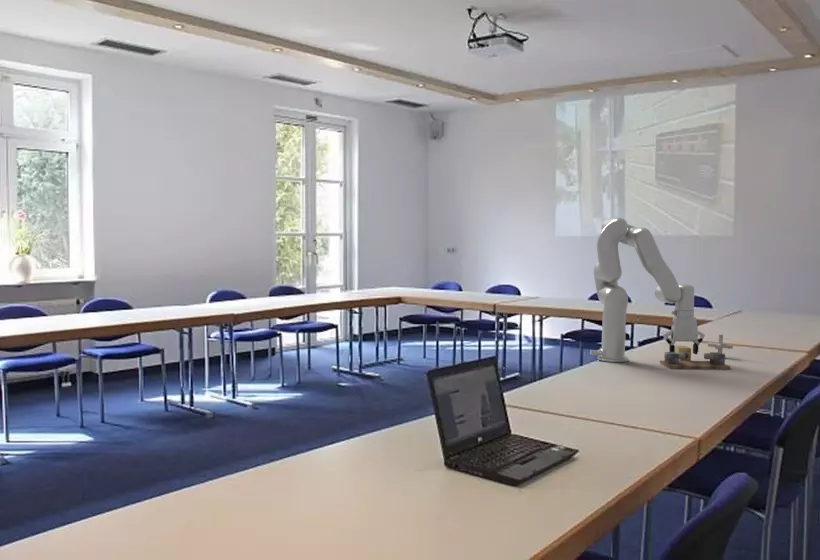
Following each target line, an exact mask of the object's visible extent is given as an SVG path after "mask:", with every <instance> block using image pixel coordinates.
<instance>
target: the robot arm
mask: <svg viewBox="0 0 820 560" xmlns="http://www.w3.org/2000/svg"><path fill="white" fill-rule="evenodd" d="M619 243H621V244H623V245H625V246H629V247H633V248H634V250H635V253H637V256H638V258H639V260H640V262H641V265H642V267H643V268H644V270H645V271H646V272H647V273H648V274H650V275H651V277H653V279H654V280H655V282H656V283H657V285H658V286H657V287H656V288H655V290H654V296H655V298H656V299H657V300H659V301H660V302H663V303H668V304H674V310H673V311H671V315H674V316H673V317H672V322H671V329H670V331H668V332H666V333H664V334H663V338H664V339H665V340H664V341H666V342H667V344H668V345H669V350H668V352H675V346H676V345H675V344H676V342H692V343H693V345H692V354H694V355H698V353H699V345H701V343H702V342H703V340H704V338H705V337H706V334H705V333H703V332H701V331H699V330H698V329H699V328H698V323H697V318H696V316H695V287H694V286H693V285H692V284H679V283H678V281H677V279H676V276H675V274H673V272H672V269H670V267H669V266H668V265H667V263H666V262H665V260H664V259H663V255H662V254H661V252H660V250H659V247H658V245H657V243H656V240H655V239H654V237H653V234H652V232H651V231H650V229H648V228H645V227H637V226H633V225H630V224H629V223H628V222H627V220H626V219H624V218H623V217H609V218H606V219H605V220H604V221H603V222H602V223H601V231H600V233H599V235H598V239H597V242H596V250H597V259H598V262H596V264H595V265H594V269H593V277H594V282H595V290H596V296H597V298H598V300H599V302H600V303H601V304H602V305H603V310H602V319H601V320H602V325H601V327H602V329H601V331H602V332H601V347H600V348H599V349H597V350H595V349H592V350H591V349H590V351H589V354H590V355H591V356H592V355H593V356H597V360H599V361H603V362H611V363H624V362H625V363H626V362H628V361H629V357H628V356H625V353H626V351H625V350H626V328H627V327H626V326H627V325H626V321H627V310H628V304H629V296H628V292H627V291H626V289H625V288H624V287H622V286H620V285H619V283H618V281H619V280H620V279H621V277H622V273H623V272H622V266H621V261H620V260H621V259H620V255H619V254H620V253H619ZM669 336H670V337H669ZM670 338H671V339H670Z"/></svg>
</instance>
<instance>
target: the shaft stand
mask: <svg viewBox="0 0 820 560" xmlns="http://www.w3.org/2000/svg"><path fill="white" fill-rule="evenodd" d="M663 356H664V357H663V358H664V360H659V364H661V365H662V366H664V367H666V368H668V369H670V370H731V366H730V365H728V364H726V354H725V353H723V352H722V353H720V352H718V351H716V352H715V351H714V352H711V351H710V352H709V353H708V352H707V353H706V352H705V353H704V354H703V358H704V360H691V361H679V359H685V353H676V352H669V351H664V355H663Z"/></svg>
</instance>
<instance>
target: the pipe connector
mask: <svg viewBox="0 0 820 560" xmlns="http://www.w3.org/2000/svg"><path fill="white" fill-rule="evenodd" d="M717 336H718V337H717V338H718V340H717V342H710V341H709V342H708V343H707V346H708V347H710V348H715V350H717V352H720V353H723V349H728V350H729V349H731V350H733V348H734V345H733V344H731V343H730V344H728V343H725V342H724V334H721V333H719V334H718V335H717Z"/></svg>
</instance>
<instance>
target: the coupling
mask: <svg viewBox="0 0 820 560" xmlns="http://www.w3.org/2000/svg"><path fill="white" fill-rule="evenodd" d="M674 346H675V352H676V353H685V359H679V361H692V360H691V359H692V348H691V347H689V346H687V345H674Z"/></svg>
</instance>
